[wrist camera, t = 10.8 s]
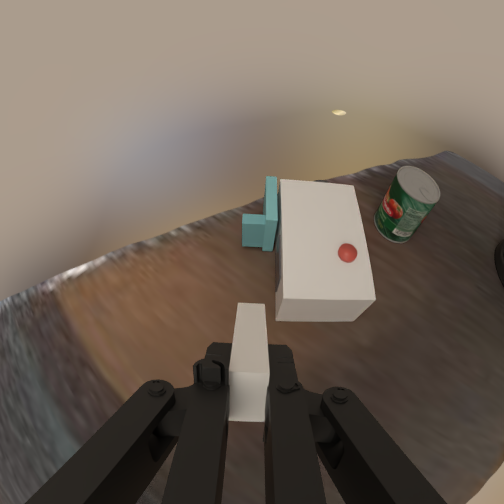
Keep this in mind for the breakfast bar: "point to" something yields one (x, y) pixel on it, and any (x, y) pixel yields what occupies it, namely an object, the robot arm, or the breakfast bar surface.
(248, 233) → the door
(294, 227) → the block
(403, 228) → the canned tomato
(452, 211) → the breakfast bar surface
